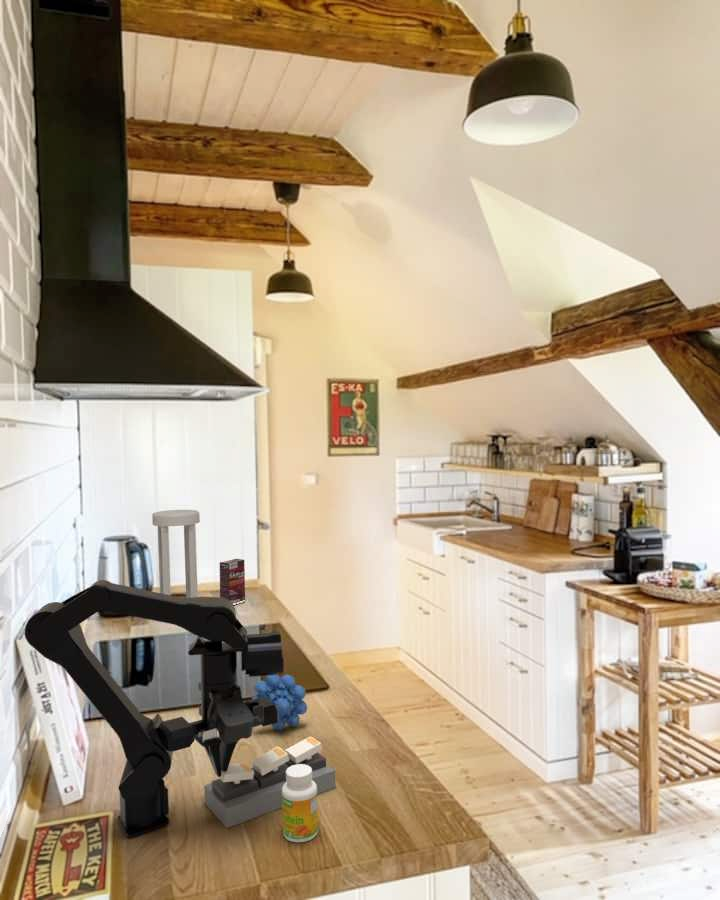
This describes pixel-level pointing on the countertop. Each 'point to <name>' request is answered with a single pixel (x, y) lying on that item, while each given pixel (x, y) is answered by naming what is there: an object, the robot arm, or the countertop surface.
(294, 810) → the supplement bottle
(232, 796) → the rocker switch strip
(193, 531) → the stool
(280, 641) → the robot arm
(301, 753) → the far rocker
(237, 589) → the supplement box
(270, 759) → the middle rocker
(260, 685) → the grapes
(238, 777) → the block
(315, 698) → the countertop surface
